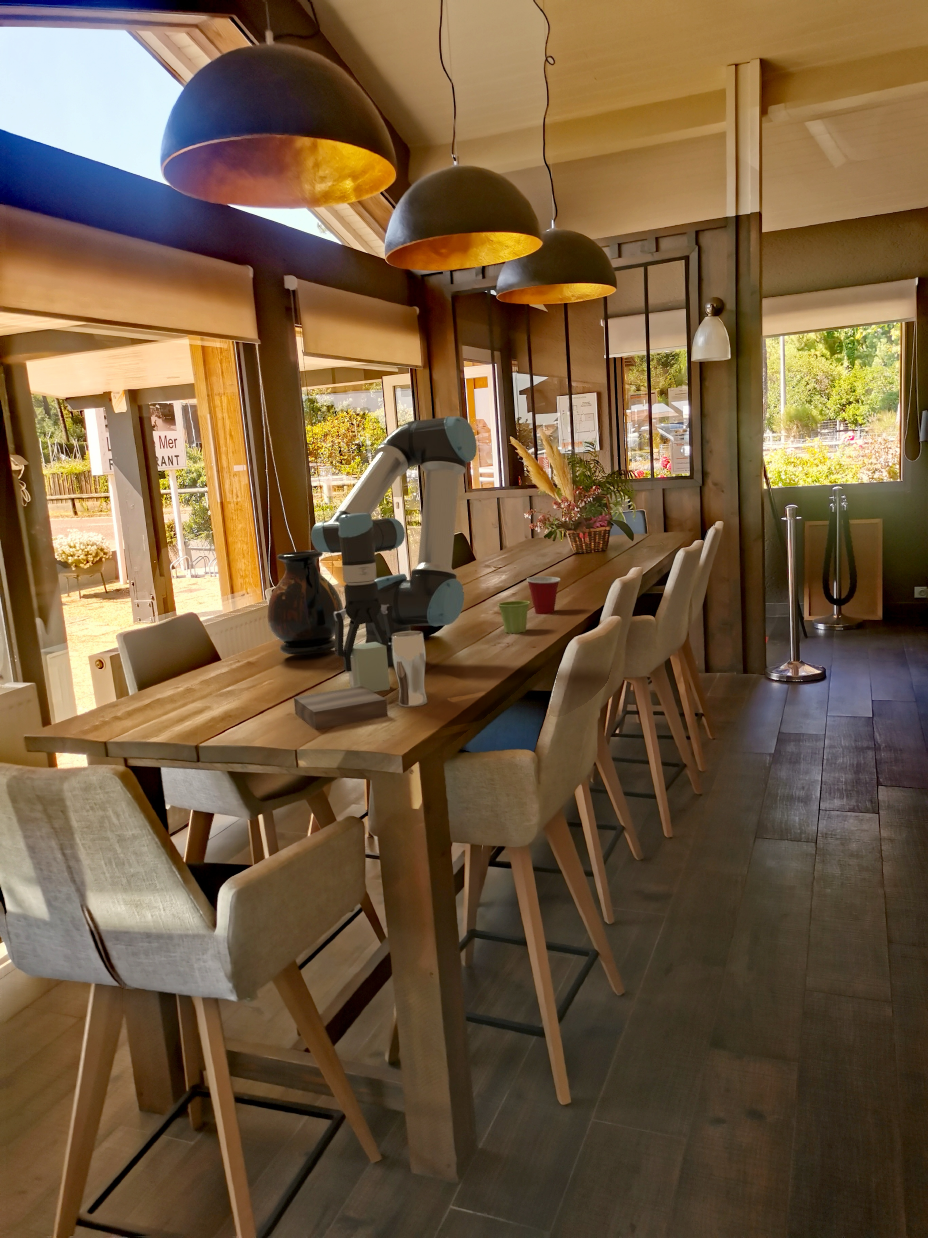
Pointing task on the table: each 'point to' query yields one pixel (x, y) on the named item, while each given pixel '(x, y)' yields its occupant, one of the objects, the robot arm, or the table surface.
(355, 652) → the sage block
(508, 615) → the plant pot
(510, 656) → the table surface
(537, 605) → the plastic cup
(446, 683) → the table surface
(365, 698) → the walnut block
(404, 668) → the beer glass
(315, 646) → the amphora vase
